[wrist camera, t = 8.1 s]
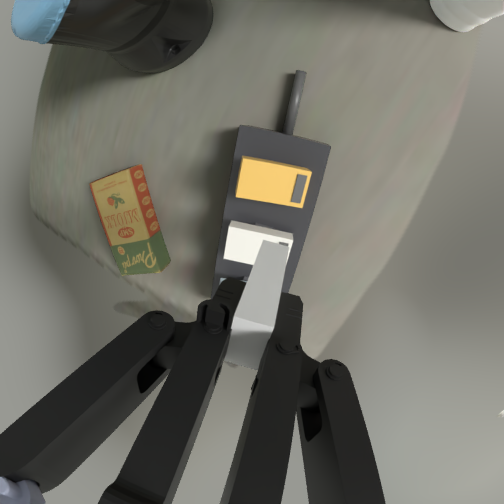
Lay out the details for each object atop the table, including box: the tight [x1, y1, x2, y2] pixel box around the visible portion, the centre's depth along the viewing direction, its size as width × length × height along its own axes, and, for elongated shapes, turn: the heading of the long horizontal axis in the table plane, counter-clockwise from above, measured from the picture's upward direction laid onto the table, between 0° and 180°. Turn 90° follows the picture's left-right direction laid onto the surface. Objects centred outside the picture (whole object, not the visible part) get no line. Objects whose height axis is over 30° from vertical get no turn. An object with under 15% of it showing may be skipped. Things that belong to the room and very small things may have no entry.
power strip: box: [211, 70, 331, 299], centre depth 32 cm, size 10×33×5 cm, turn 169°
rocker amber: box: [235, 156, 312, 208], centre depth 27 cm, size 7×4×2 cm, turn 79°
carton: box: [90, 164, 171, 276], centre depth 38 cm, size 8×16×4 cm, turn 12°
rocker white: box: [223, 220, 293, 265], centre depth 31 cm, size 7×4×2 cm, turn 79°
